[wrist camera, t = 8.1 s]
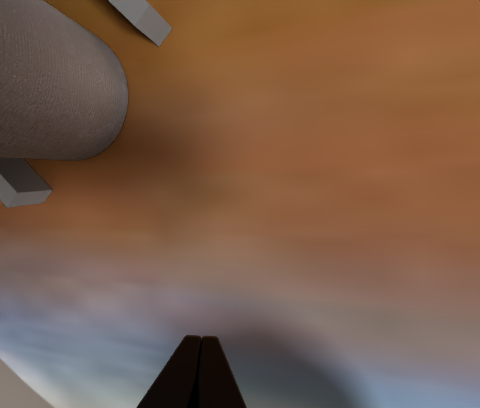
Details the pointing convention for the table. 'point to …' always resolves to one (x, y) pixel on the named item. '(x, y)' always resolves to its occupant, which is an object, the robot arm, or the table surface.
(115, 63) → the pillar candle
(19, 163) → the bay
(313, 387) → the table surface
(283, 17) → the table surface
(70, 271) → the table surface
